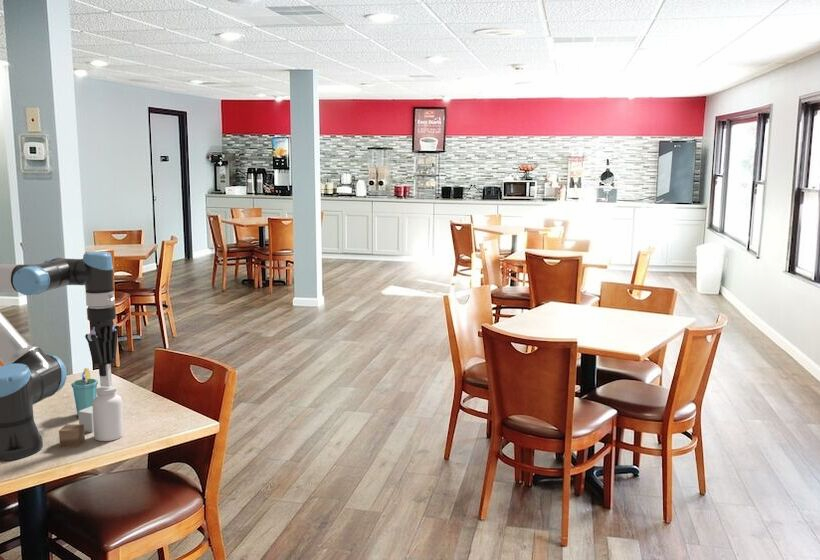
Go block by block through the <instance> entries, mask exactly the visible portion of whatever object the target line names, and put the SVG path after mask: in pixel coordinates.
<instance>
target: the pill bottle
mask: <svg viewBox="0 0 820 560" xmlns="http://www.w3.org/2000/svg"><path fill="white" fill-rule="evenodd" d="M92 404H93V423H94V432H93V436H94V439H95V441H100V442H109V441H110V442H111V441H115V440H118V439H120V438H122V437H123V435H124V420H123V418H124V417H123V399H122V396H120V395H119V394H117V387H116V385H113V384H112V386H110V387H102V386H97V394H96V398H94V400H93V403H92Z"/></svg>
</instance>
